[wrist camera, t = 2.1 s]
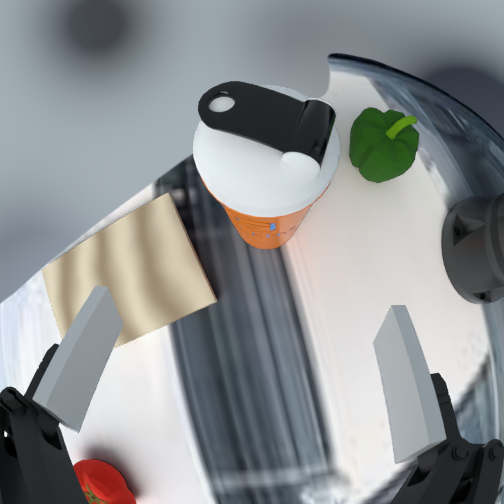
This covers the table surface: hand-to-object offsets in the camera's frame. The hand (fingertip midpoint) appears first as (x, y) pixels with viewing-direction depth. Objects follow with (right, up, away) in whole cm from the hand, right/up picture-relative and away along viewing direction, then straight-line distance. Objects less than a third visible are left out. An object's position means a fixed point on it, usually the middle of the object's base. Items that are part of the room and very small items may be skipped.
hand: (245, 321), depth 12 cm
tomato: (-21, -32, +15) cm, 41 cm away
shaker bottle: (+2, +7, +21) cm, 22 cm away
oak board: (-16, -1, +20) cm, 26 cm away
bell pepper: (+16, +15, +21) cm, 30 cm away
